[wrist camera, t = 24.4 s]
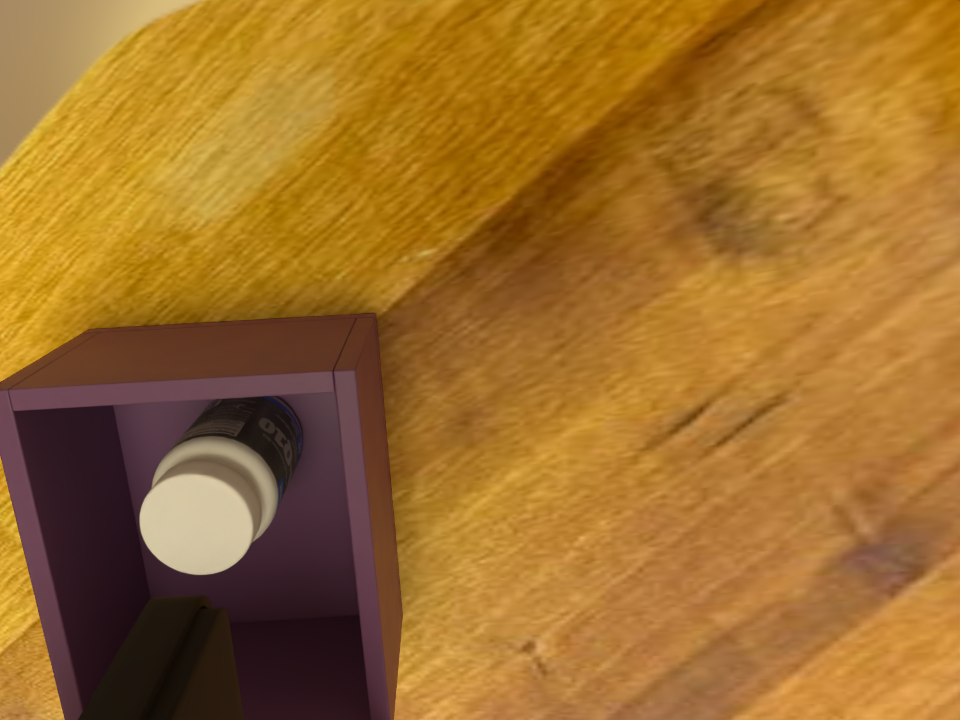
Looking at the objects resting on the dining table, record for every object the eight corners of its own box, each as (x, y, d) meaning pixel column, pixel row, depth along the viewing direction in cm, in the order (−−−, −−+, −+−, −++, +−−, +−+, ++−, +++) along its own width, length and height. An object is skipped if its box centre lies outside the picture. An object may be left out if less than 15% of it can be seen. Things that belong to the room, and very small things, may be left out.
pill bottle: (315, 473, 37) (279, 573, 29) (214, 492, 37) (150, 597, 29) (289, 376, 35) (244, 453, 27) (185, 396, 35) (108, 479, 27)
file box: (88, 328, 35) (-17, 391, 27) (375, 312, 35) (356, 369, 27) (148, 632, 40) (74, 762, 32) (402, 616, 40) (392, 739, 32)
